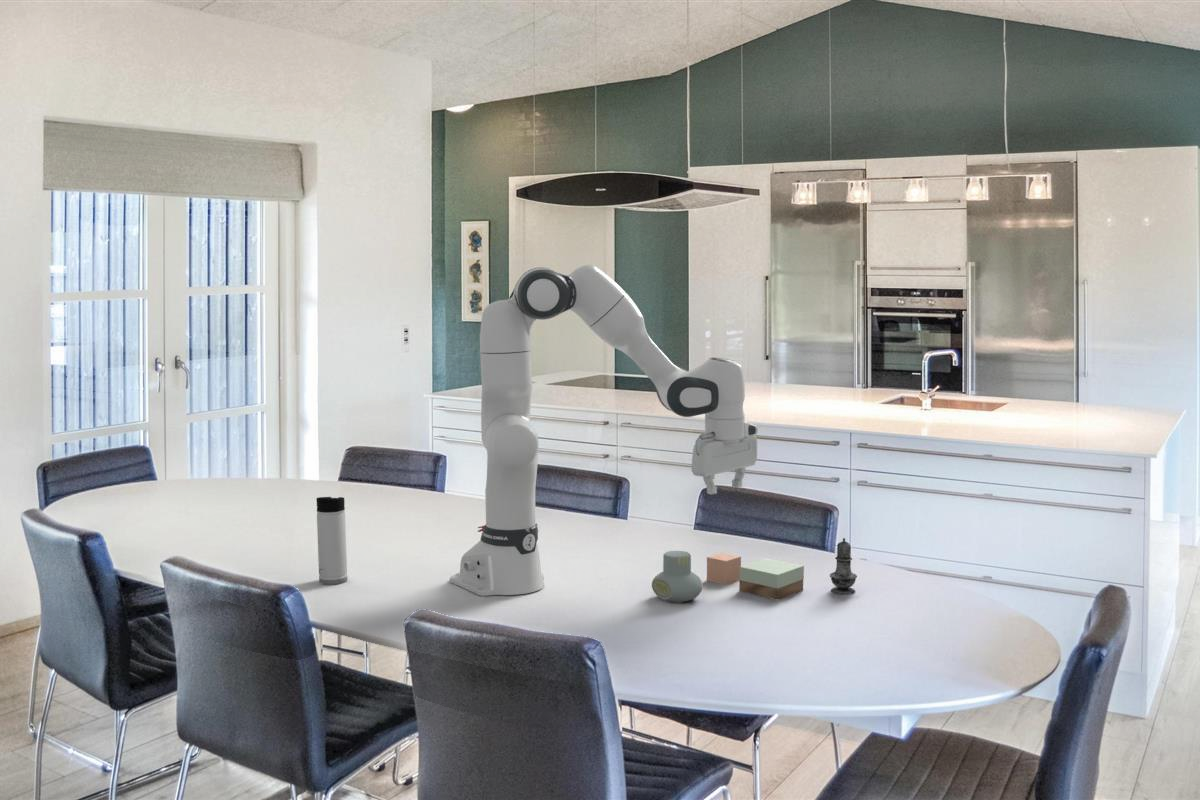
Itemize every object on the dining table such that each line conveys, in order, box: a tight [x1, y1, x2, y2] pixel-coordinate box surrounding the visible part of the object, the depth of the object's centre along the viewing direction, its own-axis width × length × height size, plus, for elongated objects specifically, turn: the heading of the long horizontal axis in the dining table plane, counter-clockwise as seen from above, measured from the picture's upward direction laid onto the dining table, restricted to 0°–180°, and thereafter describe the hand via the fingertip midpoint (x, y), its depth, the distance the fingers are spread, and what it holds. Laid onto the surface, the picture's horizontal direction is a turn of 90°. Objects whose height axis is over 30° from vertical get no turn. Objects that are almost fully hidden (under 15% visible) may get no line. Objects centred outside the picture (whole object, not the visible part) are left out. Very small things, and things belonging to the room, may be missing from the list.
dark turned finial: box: [829, 537, 858, 596], centre depth 253 cm, size 6×6×12 cm
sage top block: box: [740, 557, 805, 588], centre depth 254 cm, size 10×10×3 cm
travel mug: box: [316, 496, 348, 586], centre depth 263 cm, size 6×7×20 cm
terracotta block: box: [706, 552, 742, 586], centre depth 263 cm, size 6×6×6 cm
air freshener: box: [651, 550, 704, 604], centre depth 248 cm, size 11×8×10 cm
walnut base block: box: [738, 579, 804, 601], centre depth 254 cm, size 10×10×3 cm
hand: (724, 490), depth 261 cm, fingers open, 8 cm apart
